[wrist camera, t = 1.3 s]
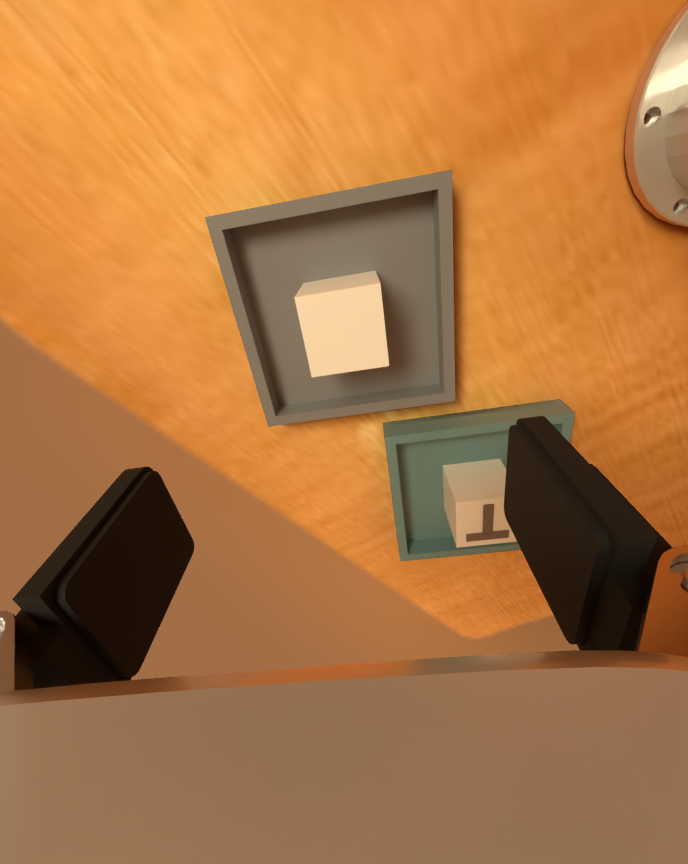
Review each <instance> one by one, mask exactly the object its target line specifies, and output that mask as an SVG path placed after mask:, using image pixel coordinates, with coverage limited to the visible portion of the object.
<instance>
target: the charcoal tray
mask: <svg viewBox="0 0 688 864" xmlns="http://www.w3.org/2000/svg"><path fill="white" fill-rule="evenodd" d="M205 219H206V223H207V226H208V229H209V232H210V236H211V239H212V242H213V246H214V249H215V252H216V256H217V259H218V262H219V265H220V269H221V272H222V275H223V279H224V282H225V285H226V288H227V292H228V295H229V298H230V302H231V305H232V308H233V312H234V315H235V318H236V321H237V325H238V328H239V331H240V335H241V338H242V341H243V345H244V348H245V351H246V354H247V358H248V361H249V364H250V368H251V371H252V374H253V377H254V381H255V384H256V387H257V391H258V394H259V397H260V401H261V404H262V407H263V410H264V414H265V417H266V420H267V424H268V427H269V426H276V425H284V424H291V423H298V422H306V421H313V420H321V419H328V418H335V417H343V416H350V415H357V414H365V413H372V412H379V411H387V410H394V409H402V408H409V407H416V406H424V405H431V404H438V403H446V402H453V401H455V341H454V271H453V202H452V170H448V171H443V172H438V173H432V174H427V175H422V176H417V177H412V178H407V179H401V180H396V181H391V182H386V183H381V184H375V185H370V186H365V187H360V188H355V189H350V190H344V191H339V192H334V193H329V194H324V195H319V196H313V197H308V198H303V199H298V200H293V201H288V202H282V203H277V204H272V205H267V206H262V207H257V208H251V209H246V210H241V211H236V212H231V213H225V214H220V215H215V216H210V217H205ZM370 271H376V273H377V276H378V278H379V281H380V284H381V293H382V302H383V312H384V321H385V331H386V340H387V349H388V359H389V366H386V367H380V368H373V369H366V370H359V371H352V372H346V373H339V374H332V375H325V376H318V377H312V376H311V372H310V367H309V363H308V358H307V353H306V349H305V344H304V340H303V335H302V331H301V326H300V322H299V317H298V312H297V308H296V303H295V299H294V297H295V296H296V294H297V292H298V291H299V289H300V288H301V286H302V285H303V283H306V282H312V281H318V280H324V279H330V278H335V277H341V276H347V275H353V274H359V273H365V272H370Z"/></svg>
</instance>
